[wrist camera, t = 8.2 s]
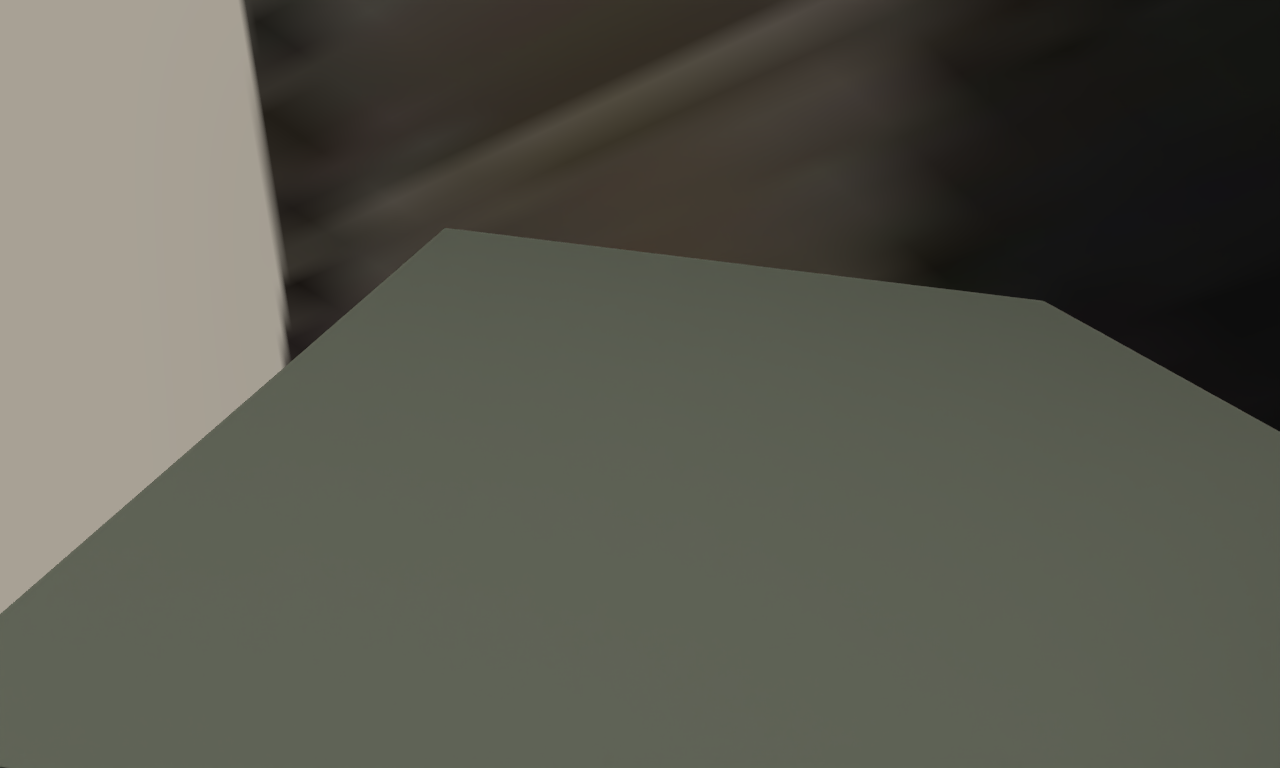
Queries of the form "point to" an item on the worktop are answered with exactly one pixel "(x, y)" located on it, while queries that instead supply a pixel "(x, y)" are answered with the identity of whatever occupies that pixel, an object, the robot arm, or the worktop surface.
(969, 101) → the worktop surface
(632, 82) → the worktop surface
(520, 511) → the sage green lidded box
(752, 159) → the worktop surface
